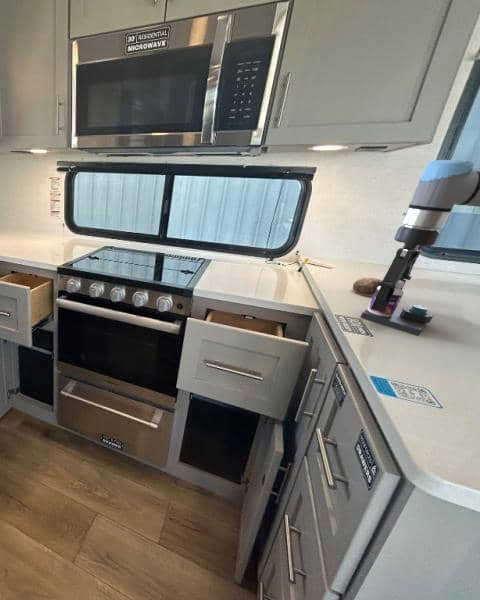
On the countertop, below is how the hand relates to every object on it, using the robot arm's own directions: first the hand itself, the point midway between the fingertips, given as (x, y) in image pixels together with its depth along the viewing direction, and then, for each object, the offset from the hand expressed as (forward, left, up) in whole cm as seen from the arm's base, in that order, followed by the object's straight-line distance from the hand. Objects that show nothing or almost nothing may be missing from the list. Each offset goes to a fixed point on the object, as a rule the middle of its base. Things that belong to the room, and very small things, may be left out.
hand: (383, 305), depth 90 cm
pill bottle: (0, 0, -3) cm, 3 cm away
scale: (-3, -2, -4) cm, 5 cm away
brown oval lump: (+8, -22, -4) cm, 24 cm away
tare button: (-6, -5, -1) cm, 9 cm away
